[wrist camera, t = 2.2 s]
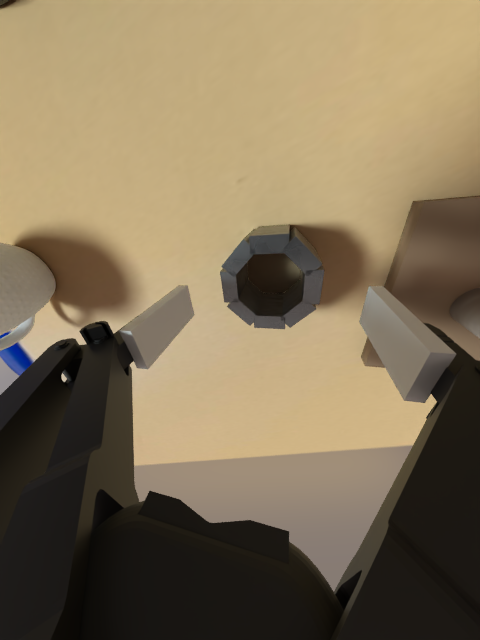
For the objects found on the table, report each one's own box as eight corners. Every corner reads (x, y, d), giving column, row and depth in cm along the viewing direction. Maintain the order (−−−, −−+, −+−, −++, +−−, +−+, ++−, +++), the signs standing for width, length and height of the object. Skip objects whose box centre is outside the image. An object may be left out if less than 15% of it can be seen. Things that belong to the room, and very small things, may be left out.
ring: (231, 228, 18) (215, 238, 14) (320, 222, 17) (330, 231, 12) (239, 302, 23) (227, 326, 19) (310, 304, 21) (315, 330, 17)
